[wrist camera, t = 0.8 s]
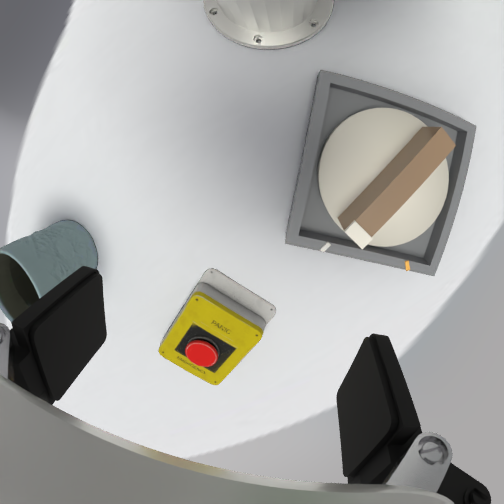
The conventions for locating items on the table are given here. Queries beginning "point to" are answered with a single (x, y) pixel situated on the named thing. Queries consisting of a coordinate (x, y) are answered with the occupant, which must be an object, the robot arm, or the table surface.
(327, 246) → the dial housing
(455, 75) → the table surface
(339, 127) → the dial
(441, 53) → the table surface
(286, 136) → the table surface
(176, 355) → the emergency button
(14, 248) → the teal cup
